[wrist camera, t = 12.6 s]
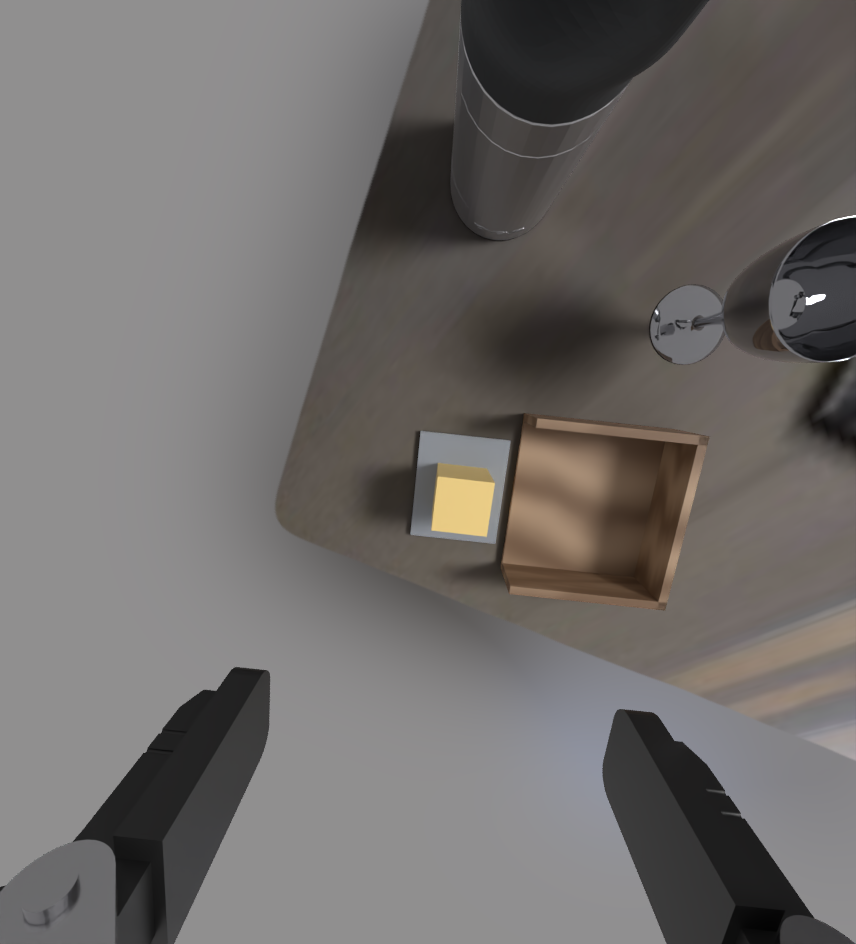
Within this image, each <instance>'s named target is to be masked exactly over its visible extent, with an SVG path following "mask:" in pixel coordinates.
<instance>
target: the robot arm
mask: <svg viewBox="0 0 856 944" xmlns="http://www.w3.org/2000/svg"><path fill="white" fill-rule="evenodd" d="M708 1H709V0H461V17H460V33H459V49H458V70H457V86H456V102H455V117H454V133H453V149H452V162H451V179H450V187H451V197H452V200H453V204H454V207H455V209H456V211H457V213H458V215H459V217H460V218H461V220H462V221H463V222H464V224H465V225H466V226H467V227H468V228H469V229H471V230H472V231H473V232H474V233H476V234H478V235H480V236H482V237H484V238H488V239H492V240H509V239H513V238H517V237H519V236H521V235H523V234H525V233H527V232H528V231H529V230H531V229H532V228H533V227H534V226H536V225H537V224H538V222H539V221H540V220H541V219H542V218H543V216H544V215H545V213H546V212H547V210H548V209H549V207H550V206H551V204H552V203H553V201H554V199H555V198H556V197H557V195H558V194H559V192H560V190H561V189H562V187H563V186H564V184H565V183H566V181H567V180H568V178H569V177H570V175H571V173H572V172H573V170H574V169H575V167H576V166H577V164H578V163H579V161H580V159H581V158H582V156H583V155H584V153H585V152H586V150H587V149H588V147H589V146H590V144H591V142H592V141H593V139H594V138H595V136H596V135H597V133H598V132H599V130H600V128H601V127H602V125H603V124H604V122H605V121H606V119H607V118H608V116H609V115H610V113H611V111H612V110H613V108H614V106H615V105H616V103H617V102H618V100H619V99H620V97H621V95H622V94H623V92H624V91H625V89H626V88H627V86H628V85H629V83H630V81H631V80H632V78H633V77H635V76H636V75H638V74H640V73H641V72H643V71H644V70H646V69H647V68H649V67H650V66H651V65H653V64H654V63H655V62H657V61H658V60H659V59H660V58H661V57H662V56H663V55H665V54H666V53H667V52H668V51H669V50H670V49H671V47H672V46H673V45H674V44H675V43H676V42H677V41H678V39H679V38H680V37H681V36H682V35H683V33H684V32H685V31H686V30H687V28H688V27H689V26H690V24H691V23H692V22H693V21H694V19H695V18H696V17H697V15H698V14H699V13H700V11H701V10H702V9H703V8H704V6H705V5H706V4H707V2H708ZM269 703H270V673H269V672H268V671H267V670H259V669H249V668H240V667H235V668H233V669H232V670H231V671H230V673H229V674H228V675H227V677H226V678H225V679H224V681H223V682H222V684H221V686H220V687H219V688H218V689H217V691H211V690H203V691H201V692H200V693H199V694H197V695H196V696H194V697H193V698H192V699H191V700H189V701H188V702H186V703H185V704H183V705H182V706H181V707H180V708H179V709H178V710H177V711H176V713H175V714H174V715H173V717H172V718H171V719H170V720H169V722H168V723H167V724H166V725H165V727H164V728H163V730H162V733H161V734H158V735H157V737H156V738H155V739H154V741H153V742H152V743H151V744H150V746H149V747H148V749H147V752H146V753H143V754H142V756H141V757H140V758H139V759H138V761H137V762H136V763H135V765H134V766H133V767H132V768H131V770H130V771H129V772H128V773H127V775H126V776H125V777H124V778H123V780H122V781H121V783H120V784H119V785H118V786H117V787H116V789H115V790H114V791H113V792H112V794H111V795H110V796H109V798H108V799H107V800H106V801H105V803H104V804H103V805H102V806H101V808H100V809H99V810H98V811H97V813H96V814H95V815H94V817H93V818H92V819H91V820H90V822H89V823H88V824H87V825H86V827H85V828H84V829H83V830H82V832H81V833H80V834H79V835H78V836H77V837H76V839H75V840H74V841H73V842H71V843H68V844H65V845H63V846H60V847H58V848H55V849H53V850H52V851H50V852H48V853H46V854H44V855H43V856H41V857H39V858H38V859H36V860H35V861H33V862H32V863H31V864H29V865H28V866H26V867H25V868H24V869H23V870H22V871H21V872H20V873H18V874H17V875H16V876H15V877H14V878H13V879H12V880H11V881H10V882H9V883H8V884H7V885H6V886H2V887H0V944H174V942H175V940H176V938H177V936H178V934H179V932H180V930H181V927H182V925H183V923H184V921H185V919H186V917H187V915H188V913H189V910H190V908H191V906H192V904H193V902H194V899H195V897H196V895H197V893H198V891H199V889H200V887H201V885H202V883H203V880H204V878H205V876H206V874H207V872H208V870H209V867H210V866H211V863H212V861H213V859H214V857H215V855H216V853H217V851H218V848H219V846H220V844H221V842H222V840H223V838H224V835H225V834H226V831H227V829H228V827H229V825H230V823H231V821H232V818H233V817H234V814H235V812H236V810H237V808H238V806H239V804H240V801H241V799H242V797H243V795H244V793H245V791H246V789H247V787H248V784H249V782H250V780H251V778H252V776H253V774H254V771H255V770H256V767H257V765H258V763H259V761H260V758H261V756H262V754H263V751H264V748H265V744H266V740H267V736H268V730H269V705H270V704H269ZM603 781H604V787H605V791H606V795H607V798H608V800H609V803H610V805H611V808H612V810H613V813H614V815H615V817H616V820H617V822H618V825H619V827H620V830H621V832H622V835H623V837H624V840H625V842H626V844H627V847H628V850H629V852H630V854H631V857H632V859H633V862H634V864H635V867H636V869H637V872H638V874H639V877H640V879H641V882H642V884H643V886H644V889H645V891H646V894H647V896H648V899H649V901H650V904H651V906H652V909H653V911H654V914H655V916H656V918H657V921H658V923H659V926H660V928H661V931H662V933H663V936H664V938H665V941H666V943H667V944H855V943H854V942H853V941H852V940H850V939H849V938H848V937H846V936H845V935H844V934H842V933H841V932H839V931H838V930H836V929H834V928H833V927H831V926H829V925H828V924H826V923H824V922H821V921H819V920H817V919H815V918H814V917H813V915H812V914H811V913H810V912H809V910H808V909H807V907H806V906H805V904H804V903H803V902H802V900H801V899H800V898H799V896H798V894H797V893H796V892H795V890H794V889H793V887H792V886H791V884H790V883H789V881H788V880H787V879H786V877H785V876H784V874H783V873H782V872H781V870H780V869H779V867H778V866H777V864H776V863H775V861H774V860H773V859H772V857H771V856H770V855H769V853H768V852H767V850H766V849H765V847H764V846H763V844H762V843H761V842H760V840H759V839H758V837H757V836H756V834H755V833H754V832H753V830H752V829H751V827H750V826H749V824H748V823H747V821H746V820H745V819H742V818H741V815H740V814H741V813H740V811H739V810H738V809H737V807H736V806H735V804H734V803H733V801H732V800H731V798H730V797H729V796H726V794H725V790H724V789H723V787H722V786H721V784H720V783H719V781H718V780H717V778H716V777H715V776H714V774H713V773H712V771H711V770H710V768H709V767H708V766H707V764H705V763H704V762H703V761H702V760H701V759H700V758H699V757H698V756H697V755H696V754H695V753H694V752H693V751H692V750H690V749H689V748H688V747H687V746H686V745H685V744H684V743H683V742H678V741H674V740H673V738H672V737H671V735H670V733H669V732H668V731H667V729H666V727H665V726H664V724H663V723H662V721H661V720H660V718H659V717H658V716H657V715H656V714H654V713H652V712H643V711H633V710H623V709H619V710H617V712H616V713H615V716H614V719H613V724H612V728H611V732H610V736H609V740H608V744H607V748H606V752H605V757H604V761H603Z"/></svg>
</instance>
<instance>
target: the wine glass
mask: <svg viewBox="0 0 856 944" xmlns="http://www.w3.org/2000/svg"><path fill="white" fill-rule="evenodd" d="M724 335H726V337H727V338H728V340H729V341H730V342H731V344H733V345H734V346H735V347H736V348H737V349H739V350H741V351H742V352H744V353H746V354H748V355H751V356H754V357H757V358H761V359H765V360H771V361H779V362H786V363H820V362H835V361H840V360H845V359H849V358H852V357H855V356H856V216H850V217H845V218H841V219H837V220H833V221H830V222H828V223H825V224H823V225H820V226H818V227H815V228H813V229H810V230H808V231H806V232H803V233H801V234H799V235H797V236H795V237H793V238H790V239H788V240H786V241H784V242H783V243H781V244H779V245H778V246H776V247H774V248H773V249H771V250H769V251H768V252H766V253H765V254H763V255H761V256H760V257H759V258H757V259H756V260H755V261H753V262H752V263H751V264H750V265H748V266H747V267H746V268H745V269H744V270H743V271H742V272H741V273H740V274H739V275H738V276H737V277H736V278H735V280H734V281H733V282H732V283H731V285H730V287H729V288H728V290H727V292H726V294H725V297H724V300H722V298H721V297H720V295H718V294H717V293H716V292H715V291H714V290H712V289H710V288H709V287H706V286H703V285H696V284H694V285H686V286H682V287H679V288H677V289H675V290H673V291H672V292H670V293H669V294H667V295H666V296H665V297H664V298H663V299H662V300H661V302H660V303H659V304H658V306H657V307H656V309H655V311H654V313H653V316H652V319H651V323H650V337H651V341H652V344H653V346H654V348H655V350H656V351H657V352H658V354H659V355H660V356H662V357H663V358H664V359H666V360H667V361H669V362H672V363H675V364H681V365H683V364H692V363H696V362H698V361H701V360H703V359H704V358H706V357H708V356H709V355H710V354H711V353H713V352H714V351H715V349H716V348H717V347H718V346H719V345H720V343H721V342H722V340H723V338H724Z"/></svg>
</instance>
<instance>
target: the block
mask: <svg viewBox="0 0 856 944" xmlns="http://www.w3.org/2000/svg"><path fill="white" fill-rule="evenodd" d="M494 486H495V482H494V480H493V478H492V477H491V475H490V473H489V471H488V469H487V468H478V467H470V466H461V465H452V464H444V463H438V466H437V474H436V482H435V491H434V499H433V507H432V525H431V530H432V531H440V532H449V533H458V534H467V535H475V536H484V537H487V532H488V526H489V519H490V512H491V506H492V499H493V493H494Z"/></svg>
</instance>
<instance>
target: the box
mask: <svg viewBox="0 0 856 944" xmlns="http://www.w3.org/2000/svg"><path fill="white" fill-rule="evenodd" d="M708 441H709V436H704V435H699V434H695V433H690V432H685V431H680V430H675V429H668V428H659V427H649V426H640V425H630V424H621V423H611V422H602V421H593V420H583V419H574V418H564V417H555V416H545V415H536V414H526V413H524V418H523V424H522V431H521V437H520V444H519V450H518V456H517V463H516V469H515V476H514V482H513V489H512V495H511V502H510V508H509V515H508V521H507V528H506V534H505V541H504V547H503V554H502V560H501V567H500V568H501V571H502V574H503V577H504V580H505V583H506V586H507V589H508V592H509V594H515V595H524V596H534V597H543V598H553V599H562V600H571V601H581V602H590V603H600V604H609V605H618V606H628V607H637V608H647V609H656V610H665V609H666V605H667V601H668V597H669V593H670V589H671V585H672V581H673V577H674V574H675V570H676V566H677V562H678V558H679V554H680V550H681V546H682V542H683V538H684V535H685V531H686V527H687V523H688V519H689V515H690V511H691V507H692V503H693V499H694V496H695V492H696V488H697V484H698V480H699V476H700V472H701V468H702V464H703V460H704V457H705V453H706V449H707V445H708Z"/></svg>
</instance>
